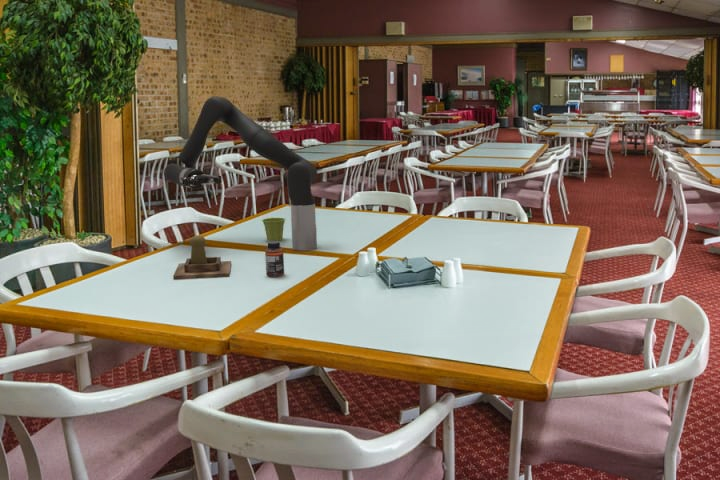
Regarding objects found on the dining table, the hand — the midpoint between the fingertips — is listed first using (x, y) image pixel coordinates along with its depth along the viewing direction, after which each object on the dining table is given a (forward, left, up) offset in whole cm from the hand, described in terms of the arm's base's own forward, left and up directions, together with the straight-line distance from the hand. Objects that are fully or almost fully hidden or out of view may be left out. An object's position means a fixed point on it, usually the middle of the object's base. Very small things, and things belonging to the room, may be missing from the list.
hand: (208, 182), depth 271 cm
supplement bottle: (-22, +32, -28) cm, 48 cm away
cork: (+3, +22, -27) cm, 35 cm away
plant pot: (-23, -26, -28) cm, 45 cm away
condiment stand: (+2, +22, -28) cm, 36 cm away
